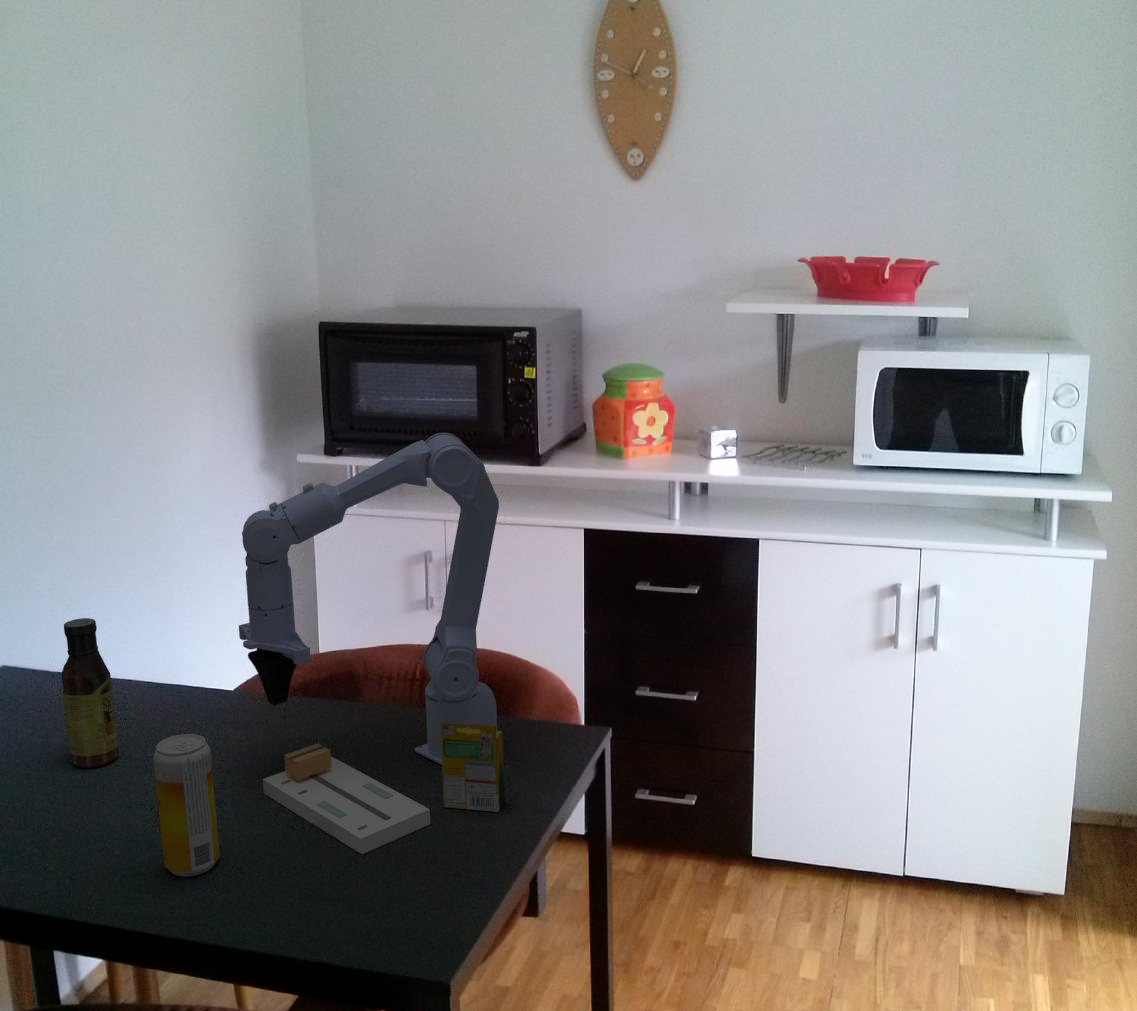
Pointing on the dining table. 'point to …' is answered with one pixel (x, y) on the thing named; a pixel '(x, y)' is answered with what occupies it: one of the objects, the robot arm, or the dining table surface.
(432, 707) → the robot arm
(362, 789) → the fader console
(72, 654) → the sauce bottle
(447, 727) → the crayon box
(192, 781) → the beer can
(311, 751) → the fader knob
